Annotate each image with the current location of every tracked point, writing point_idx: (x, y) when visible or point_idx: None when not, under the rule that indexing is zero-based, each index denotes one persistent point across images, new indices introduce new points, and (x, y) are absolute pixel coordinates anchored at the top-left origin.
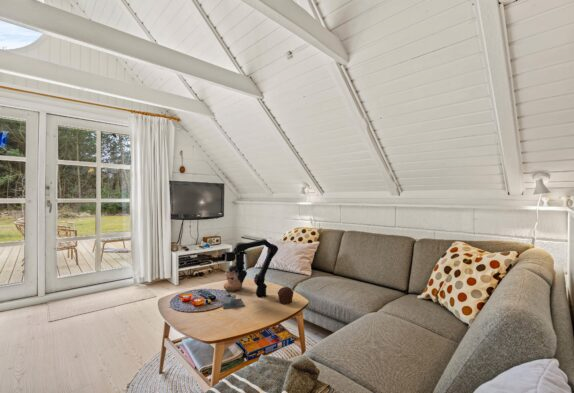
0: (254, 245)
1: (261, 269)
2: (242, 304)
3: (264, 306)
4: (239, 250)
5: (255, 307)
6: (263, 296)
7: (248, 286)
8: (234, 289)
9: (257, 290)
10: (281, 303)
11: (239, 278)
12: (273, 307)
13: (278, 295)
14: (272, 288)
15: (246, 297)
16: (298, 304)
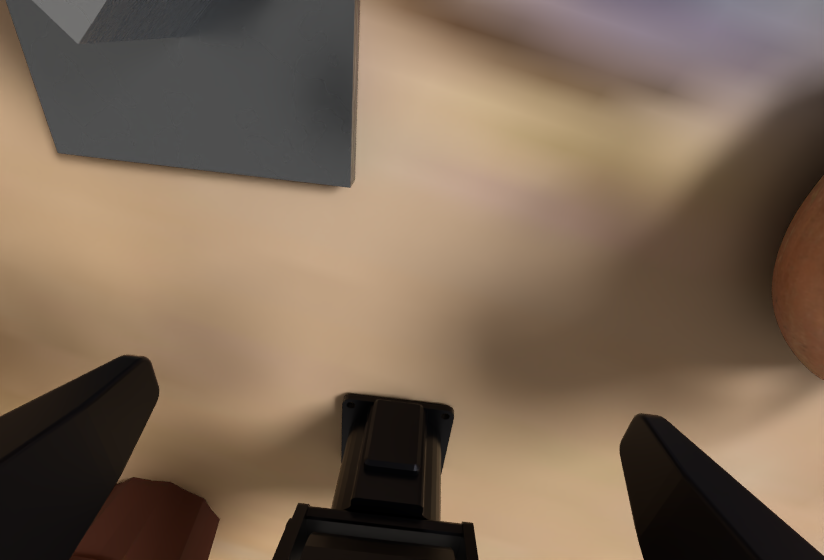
0: None
1: None
2: (68, 126)
3: (62, 354)
4: None
5: (30, 265)
6: (343, 439)
7: (809, 429)
8: (802, 209)
9: (365, 463)
10: (124, 483)
11: (641, 507)
12: None
13: (121, 546)
14: (539, 555)
15: (417, 281)
16: None
